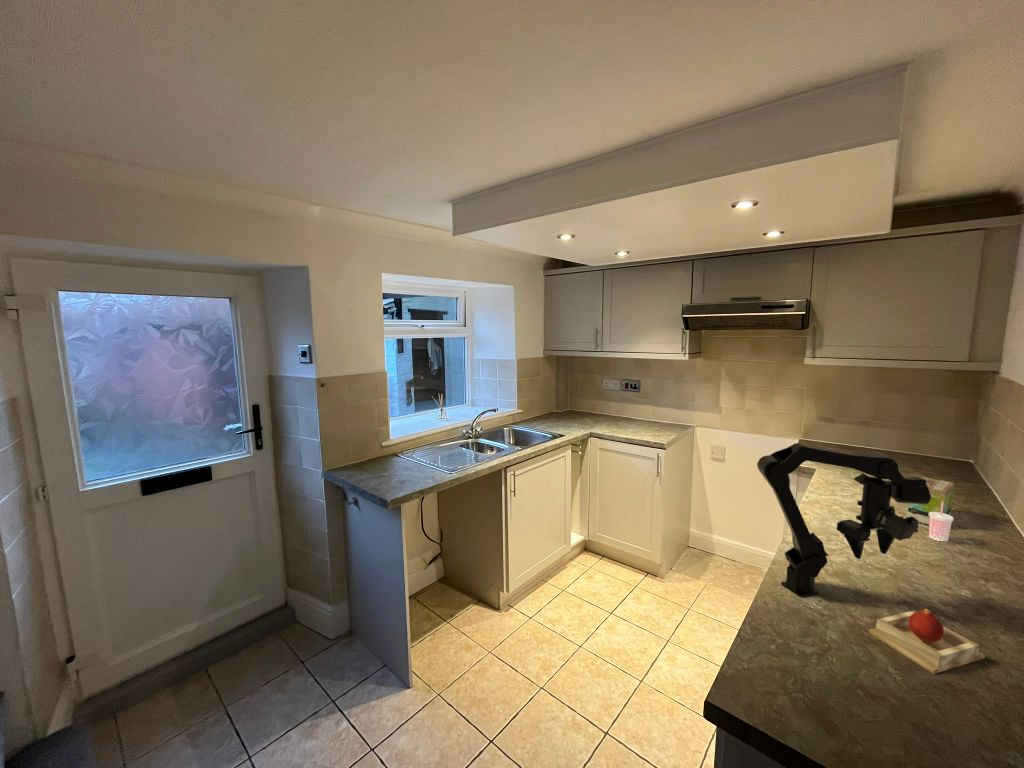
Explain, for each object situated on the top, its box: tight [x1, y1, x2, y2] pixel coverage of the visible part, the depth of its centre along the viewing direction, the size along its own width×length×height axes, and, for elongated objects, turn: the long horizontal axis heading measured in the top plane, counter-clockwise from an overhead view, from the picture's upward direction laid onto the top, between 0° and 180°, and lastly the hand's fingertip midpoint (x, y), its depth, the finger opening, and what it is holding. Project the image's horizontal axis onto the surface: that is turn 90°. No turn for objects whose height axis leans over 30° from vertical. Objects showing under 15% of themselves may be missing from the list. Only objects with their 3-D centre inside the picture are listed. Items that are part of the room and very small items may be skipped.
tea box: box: [906, 475, 956, 523], centre depth 164 cm, size 15×10×15 cm, turn 126°
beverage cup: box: [928, 501, 954, 541], centre depth 147 cm, size 6×6×14 cm
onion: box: [909, 608, 944, 643], centre depth 99 cm, size 6×6×8 cm
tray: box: [868, 610, 986, 675], centre depth 99 cm, size 16×13×3 cm
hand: (870, 555), depth 116 cm, fingers open, 9 cm apart
